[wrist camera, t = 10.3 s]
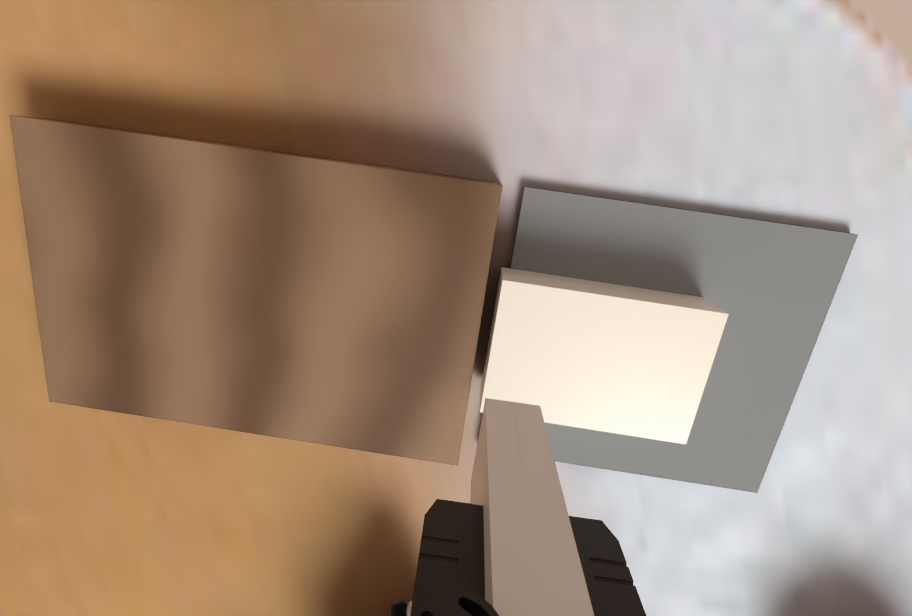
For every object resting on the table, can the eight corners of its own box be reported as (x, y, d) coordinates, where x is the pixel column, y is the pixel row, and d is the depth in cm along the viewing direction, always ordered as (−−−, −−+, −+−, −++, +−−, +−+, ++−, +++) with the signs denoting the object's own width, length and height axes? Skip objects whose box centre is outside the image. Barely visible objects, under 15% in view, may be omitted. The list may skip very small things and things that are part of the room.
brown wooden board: (82, 383, 25) (49, 401, 23) (53, 119, 21) (9, 115, 19) (460, 441, 25) (457, 465, 23) (501, 183, 21) (502, 185, 19)
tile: (480, 387, 23) (479, 412, 21) (501, 267, 21) (502, 279, 19) (666, 416, 23) (686, 444, 21) (702, 297, 21) (728, 314, 19)
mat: (479, 444, 25) (479, 449, 24) (524, 186, 21) (524, 186, 20) (752, 487, 24) (757, 492, 24) (850, 233, 20) (858, 234, 20)
